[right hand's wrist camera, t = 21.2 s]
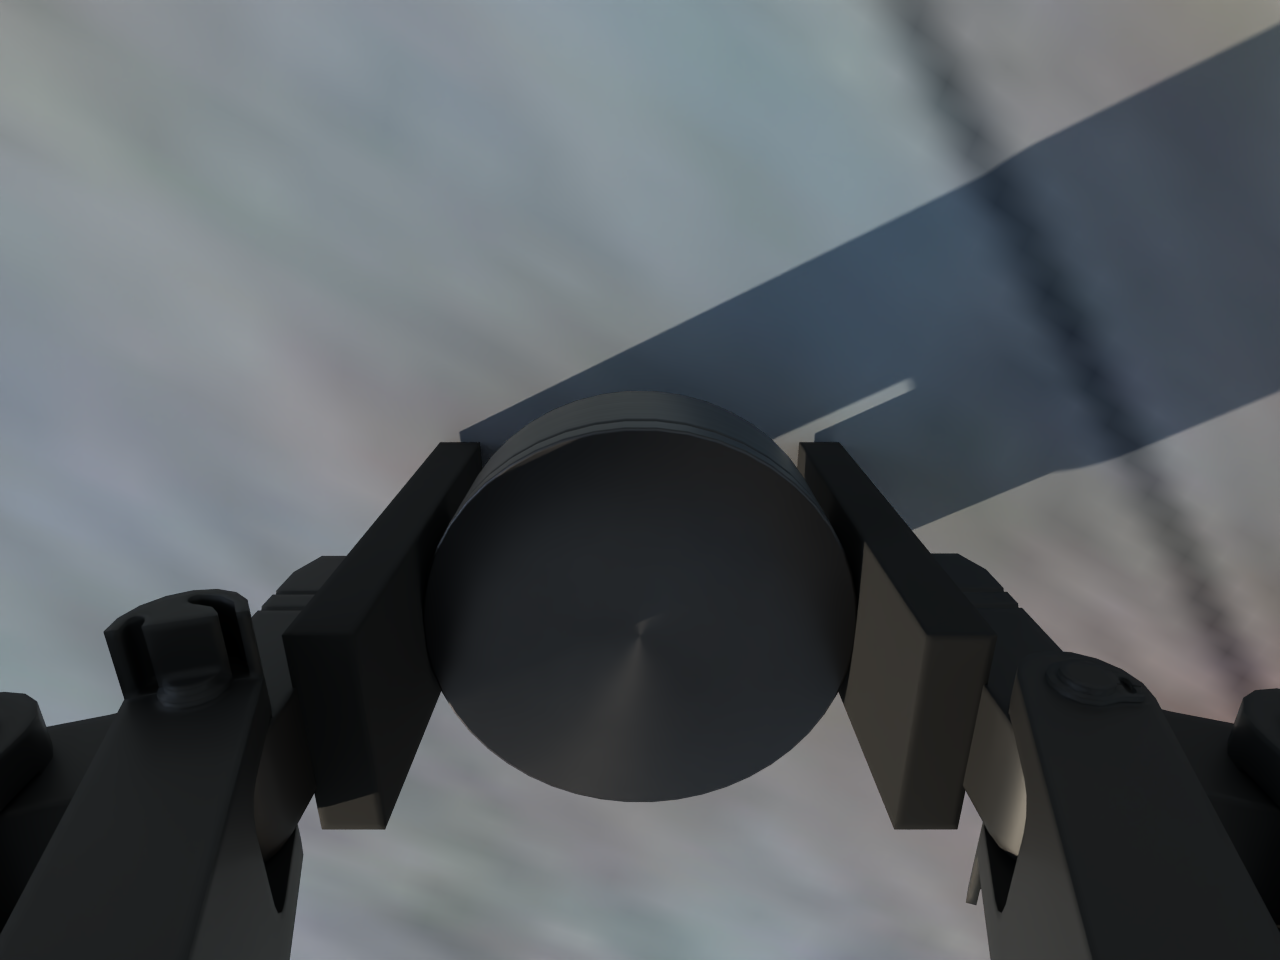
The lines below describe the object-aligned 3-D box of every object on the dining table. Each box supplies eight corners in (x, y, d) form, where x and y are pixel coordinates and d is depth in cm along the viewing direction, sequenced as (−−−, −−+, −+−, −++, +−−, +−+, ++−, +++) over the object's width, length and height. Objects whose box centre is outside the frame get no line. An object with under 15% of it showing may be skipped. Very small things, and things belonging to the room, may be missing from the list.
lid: (479, 353, 11) (446, 384, 9) (873, 431, 11) (919, 477, 9) (437, 687, 13) (403, 769, 11) (769, 742, 13) (790, 830, 12)
